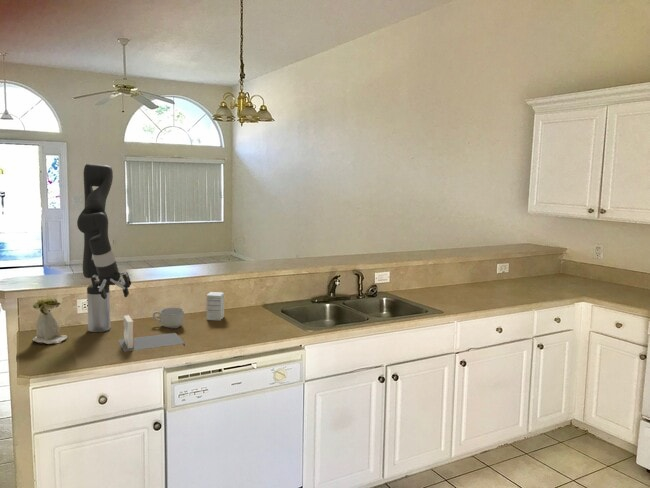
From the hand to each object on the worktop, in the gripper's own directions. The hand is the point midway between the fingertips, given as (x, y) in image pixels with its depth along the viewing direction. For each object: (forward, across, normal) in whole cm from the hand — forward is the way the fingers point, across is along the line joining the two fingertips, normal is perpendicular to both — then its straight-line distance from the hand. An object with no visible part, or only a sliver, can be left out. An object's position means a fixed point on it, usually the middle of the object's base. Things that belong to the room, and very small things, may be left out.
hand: (115, 297), depth 205 cm
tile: (+20, -1, +4) cm, 21 cm away
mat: (+24, -9, +1) cm, 25 cm away
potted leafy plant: (+19, +33, -1) cm, 38 cm away
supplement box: (+38, -28, -37) cm, 60 cm away
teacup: (+31, -9, -22) cm, 40 cm away
